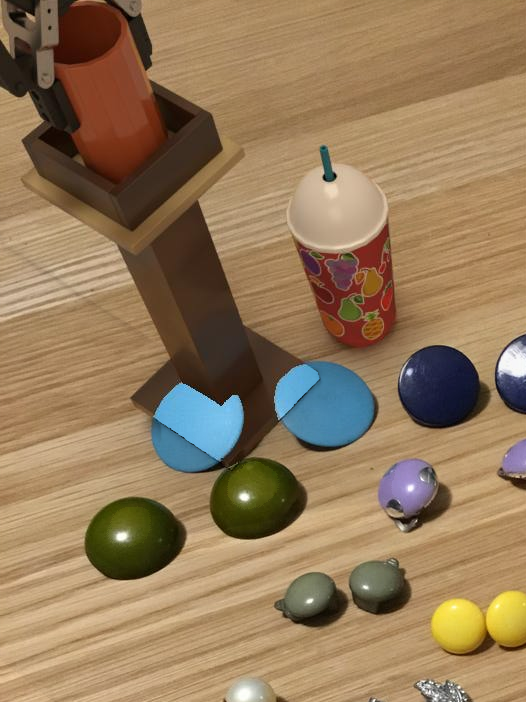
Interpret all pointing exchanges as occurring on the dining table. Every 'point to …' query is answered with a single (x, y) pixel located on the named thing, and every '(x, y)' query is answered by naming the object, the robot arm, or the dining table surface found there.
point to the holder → (172, 259)
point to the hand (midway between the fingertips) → (102, 94)
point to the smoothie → (345, 250)
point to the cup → (107, 90)
